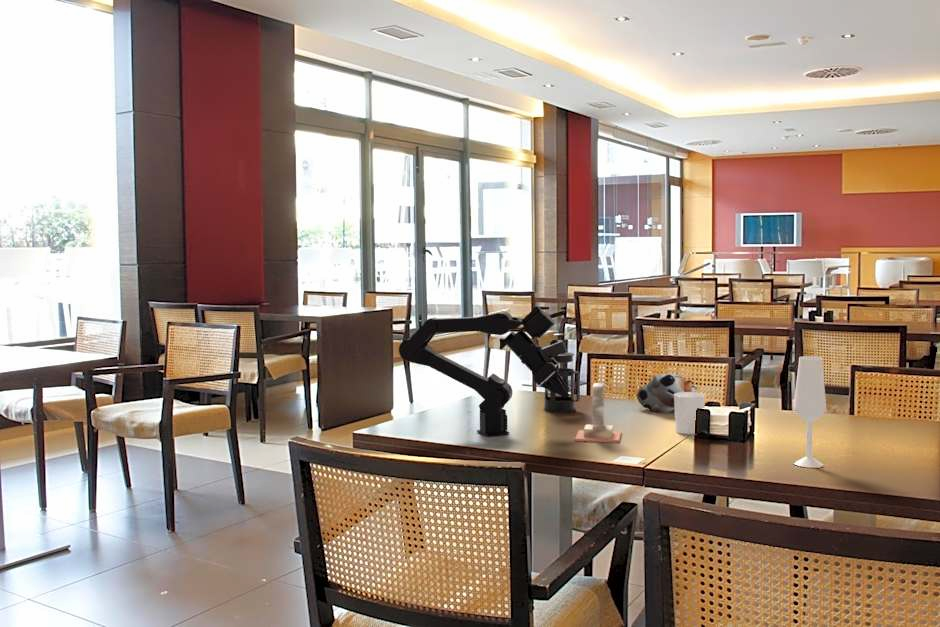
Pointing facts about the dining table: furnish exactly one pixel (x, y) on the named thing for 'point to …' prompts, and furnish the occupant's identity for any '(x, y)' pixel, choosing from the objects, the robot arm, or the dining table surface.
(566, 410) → the french press
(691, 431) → the white cup
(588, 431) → the table number stand
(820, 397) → the champagne flute
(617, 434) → the terracotta mat
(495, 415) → the robot arm
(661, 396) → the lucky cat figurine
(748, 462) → the dining table surface
